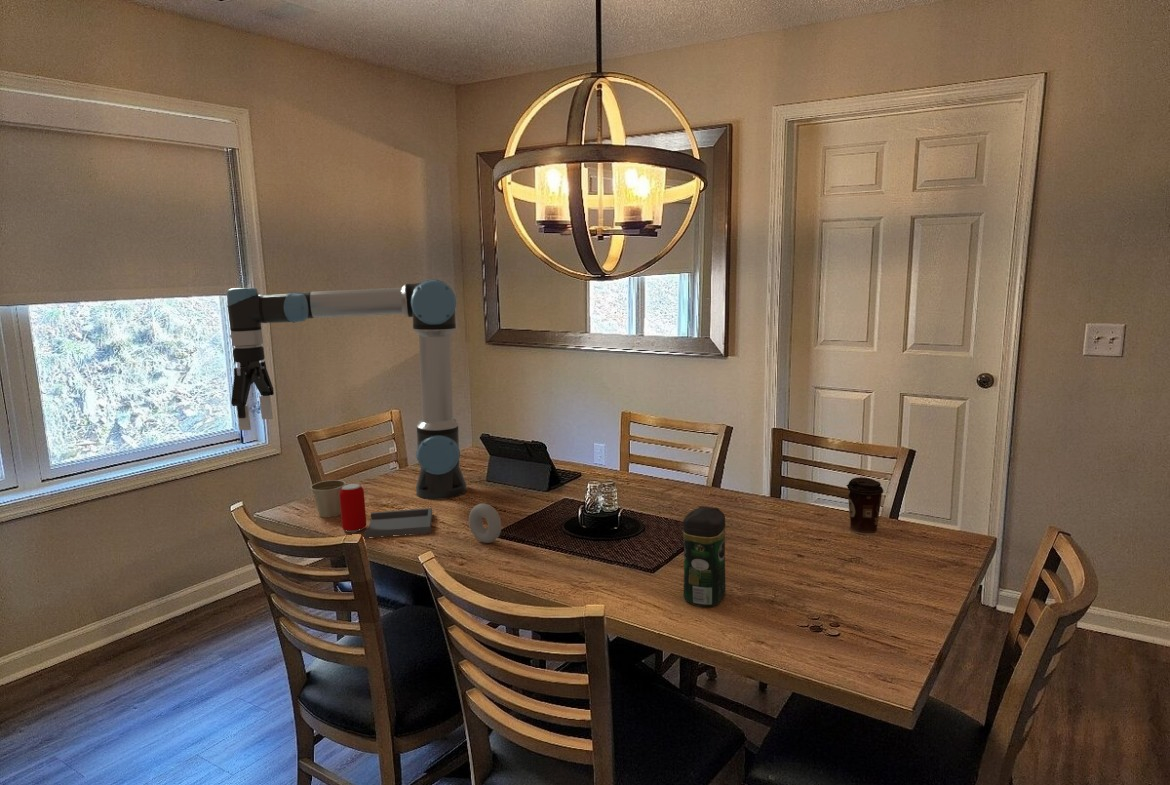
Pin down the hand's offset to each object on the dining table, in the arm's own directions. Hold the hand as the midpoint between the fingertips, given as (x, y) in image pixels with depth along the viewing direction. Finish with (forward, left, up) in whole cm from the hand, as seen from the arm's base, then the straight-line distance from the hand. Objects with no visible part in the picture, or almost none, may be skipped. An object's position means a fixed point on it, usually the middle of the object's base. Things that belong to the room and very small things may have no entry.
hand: (256, 424), depth 197 cm
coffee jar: (-102, +71, -28) cm, 128 cm away
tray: (-37, +13, -27) cm, 48 cm away
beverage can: (-25, +13, -28) cm, 40 cm away
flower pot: (-17, -1, -28) cm, 32 cm away
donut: (-59, +30, -28) cm, 72 cm away
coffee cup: (-153, +44, -28) cm, 162 cm away
